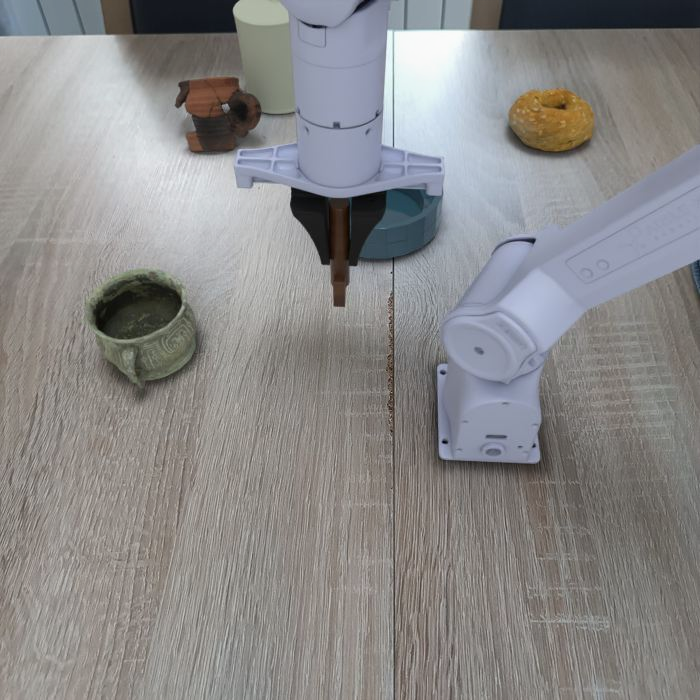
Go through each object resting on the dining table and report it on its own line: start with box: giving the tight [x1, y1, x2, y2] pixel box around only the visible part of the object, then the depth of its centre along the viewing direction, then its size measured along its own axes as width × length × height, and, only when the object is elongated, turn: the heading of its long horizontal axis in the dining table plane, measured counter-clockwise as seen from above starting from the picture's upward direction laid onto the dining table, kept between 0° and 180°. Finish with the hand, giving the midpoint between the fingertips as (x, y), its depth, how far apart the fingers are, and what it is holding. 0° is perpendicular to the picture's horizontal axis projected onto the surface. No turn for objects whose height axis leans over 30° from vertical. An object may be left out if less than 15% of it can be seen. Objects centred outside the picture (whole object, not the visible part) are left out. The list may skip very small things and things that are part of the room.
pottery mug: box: [174, 76, 263, 152], centre depth 81 cm, size 12×10×8 cm
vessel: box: [83, 267, 197, 389], centre depth 58 cm, size 12×9×6 cm
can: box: [232, 0, 295, 115], centre depth 83 cm, size 9×9×12 cm
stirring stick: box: [329, 198, 351, 308], centre depth 52 cm, size 3×2×10 cm, turn 177°
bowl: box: [329, 188, 444, 260], centre depth 70 cm, size 13×13×4 cm
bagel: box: [507, 87, 596, 152], centre depth 79 cm, size 10×11×5 cm
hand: (340, 256), depth 53 cm, fingers closed on stirring stick, 1 cm apart
